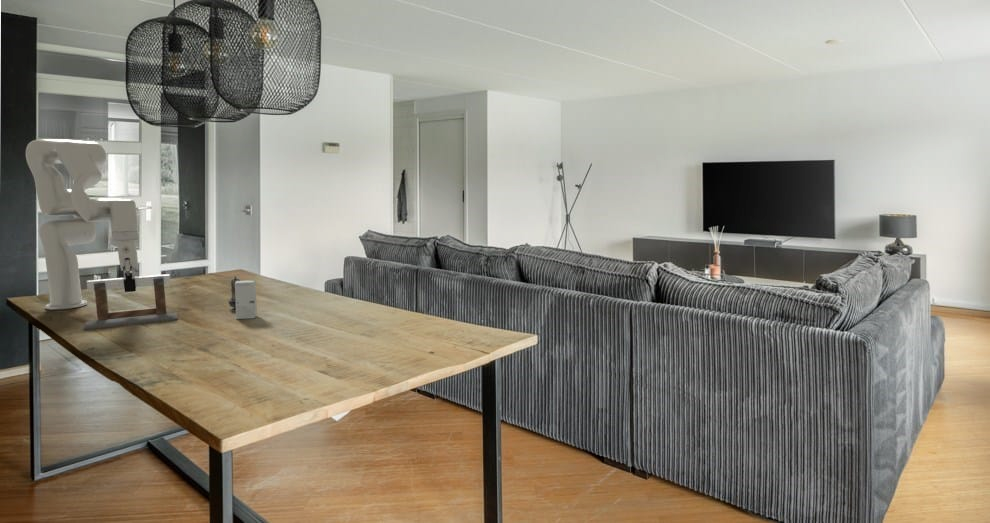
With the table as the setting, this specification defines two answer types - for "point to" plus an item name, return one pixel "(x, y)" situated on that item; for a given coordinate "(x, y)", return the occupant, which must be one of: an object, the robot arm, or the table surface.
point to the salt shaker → (233, 295)
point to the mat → (130, 321)
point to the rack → (159, 309)
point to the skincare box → (245, 299)
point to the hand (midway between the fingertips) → (130, 289)
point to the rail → (119, 282)
